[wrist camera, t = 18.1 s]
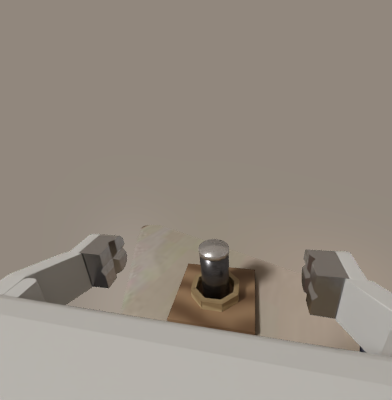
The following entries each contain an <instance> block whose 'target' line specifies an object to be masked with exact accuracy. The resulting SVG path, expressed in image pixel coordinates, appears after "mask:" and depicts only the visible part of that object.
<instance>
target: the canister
mask: <svg viewBox="0 0 392 400" xmlns="http://www.w3.org/2000/svg"><path fill="white" fill-rule="evenodd" d="M228 254H229V246H228V244H227V243H226V242H224V241H222V240H216V239H212V240H207V241H204V242H202V243H201V244H200V245H199V255H200V265H201V277H202V289H203V295H204V297H205V298H211V299H219V300H221V299H223V298H224V297H226V296H228V295H229V293H230V292H229V255H228Z"/></svg>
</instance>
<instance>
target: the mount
mask: <svg viewBox="0 0 392 400" xmlns="http://www.w3.org/2000/svg"><path fill="white" fill-rule="evenodd" d="M229 292H230V293H229V295H228V296H226V297H224V298H223V299H221V300H219V299H211V298H205V297H204V295H203V289H202V277H201V265H198V264H188V267H187V269H186V272H185V274H184V277H183V279H182V282H181V285H180V287H179V290H178V292H177V295H176V298H175V300H174V303H173V305H172V308H171V310H170V313H169V316H168V318H167V320H168V321H169V322H175V323H181V324H188V325H194V326H200V327H207V328H213V329H219V330H225V331H232V332H238V333H244V334H250V335H255V270H252V269H241V268H230V267H229Z"/></svg>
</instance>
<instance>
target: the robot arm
mask: <svg viewBox="0 0 392 400" xmlns="http://www.w3.org/2000/svg"><path fill="white" fill-rule="evenodd" d="M123 245H124V241H123V238H122V237H121V236H115V235H105V234H90V235H89V236H88V237H87V238H85V239H84V240H83V241H82V242H81V243H79V244H78V245H77V246H76V247H75V248H73V249H72V250H71V251H70V252H65V253H62V254H60V255H57V256H55V257H52V258H49V259H47V260H44V261H42V262H39V263H37V264H34V265H31V266H29V267H26V268H24V269H21V270H19V271H16V272H14V273H11V274H9V275H7V276H6V277H5V278H3V279H2V280H0V400H392V293H391V292H389V291H388V290H386V289H385V288H383V287H381V286H380V285H378V284H377V283H375V282H373V281H368V280H367V278H366V277H365V275H364V274H363V272H362V270H361V269H360V267H359V266H358V264H357V262H356V261H355V259H354V258H353V256H352V255H351V253H350V252H347V251H346V252H345V251H322V250H305V254H304V260H305V264H306V265H305V266H303V268H302V286H303V290H304V292H305V293H306V294H307V297H306V302H307V306H308V309H309V313H310V315H315V316H322V317H328V318H334V319H336V321H337V322H338V323H339V324H340V325H341V326H342V327H343V328H344V329H345V330H346V331H347V333H348V334H349V335H350V336H351V337H352V338H353V339H354V340H355V341H356V342H357V343H358V344H359V345H360V346H361V347H362V349H363V350H364V351H365V352H366V353H364V352H358V351H352V350H345V349H339V348H333V347H326V346H320V345H314V344H307V343H301V342H294V341H288V340H282V339H275V338H269V337H263V336H257V335H250V334H244V333H238V332H232V331H225V330H219V329H213V328H207V327H200V326H194V325H188V324H181V323H175V322H169V321H162V320H156V319H150V318H143V317H137V316H131V315H124V314H117V313H112V312H105V311H98V310H92V309H86V308H80V307H74V306H67V305H66V304H68V303H69V302H71V301H72V300H74V299H75V298H77V297H78V296H80V295H81V294H83V293H84V292H86V291H88V290H89V289H90V288H92V287H102V288H109V287H110V286H111V285H112V283H113V282H114V281H115V279H116V278H117V275H116V274H117V273H119V272H121V271H122V270H123V269H124V267H125V265H126V262H127V254H126V251H125V250H124V249H123V248H122V247H123Z"/></svg>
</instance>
